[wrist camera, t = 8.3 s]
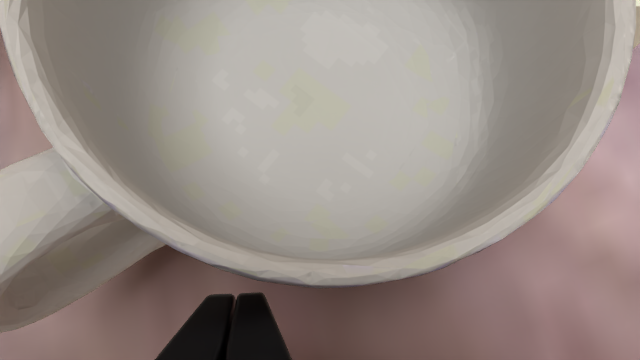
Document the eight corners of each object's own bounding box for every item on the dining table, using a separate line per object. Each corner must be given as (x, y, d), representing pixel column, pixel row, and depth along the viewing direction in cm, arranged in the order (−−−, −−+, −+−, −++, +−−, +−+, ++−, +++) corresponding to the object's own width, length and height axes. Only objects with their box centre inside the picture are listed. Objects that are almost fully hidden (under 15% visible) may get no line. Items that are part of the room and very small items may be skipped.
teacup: (373, -87, 19) (413, -381, 11) (571, 180, 16) (803, 50, 8) (-13, 114, 17) (-302, -67, 9) (148, 447, 14) (-51, 593, 7)
